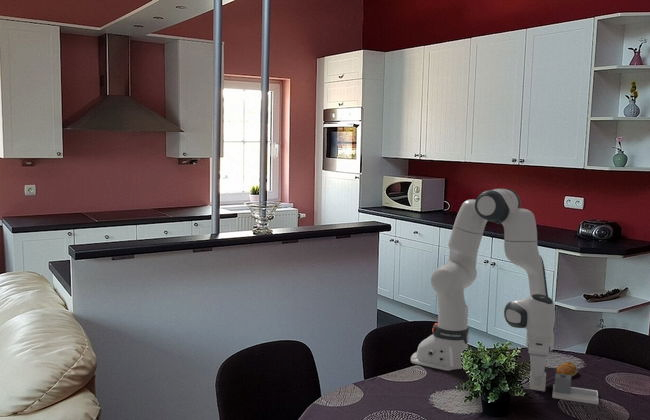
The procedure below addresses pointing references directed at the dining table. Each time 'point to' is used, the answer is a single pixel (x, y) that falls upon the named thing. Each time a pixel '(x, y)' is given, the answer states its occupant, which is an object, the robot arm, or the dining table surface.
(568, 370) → the pastry
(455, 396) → the dining table surface
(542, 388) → the module
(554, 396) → the rail base
